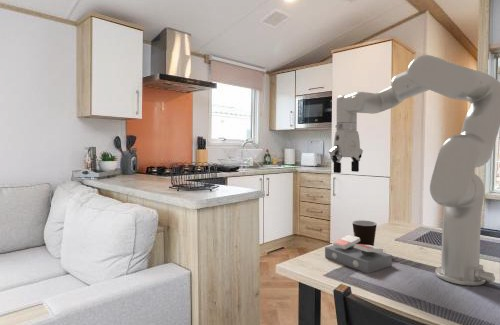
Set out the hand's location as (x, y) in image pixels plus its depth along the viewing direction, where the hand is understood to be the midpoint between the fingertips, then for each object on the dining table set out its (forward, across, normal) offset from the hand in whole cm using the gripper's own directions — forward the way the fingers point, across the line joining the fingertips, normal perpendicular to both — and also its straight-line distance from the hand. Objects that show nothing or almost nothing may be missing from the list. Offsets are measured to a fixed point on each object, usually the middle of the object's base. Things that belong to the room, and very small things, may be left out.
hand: (346, 172), depth 132 cm
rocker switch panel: (+29, -11, -15) cm, 34 cm away
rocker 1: (+24, -11, -10) cm, 28 cm away
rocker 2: (+24, -10, -19) cm, 32 cm away
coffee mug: (+29, +3, -7) cm, 30 cm away
